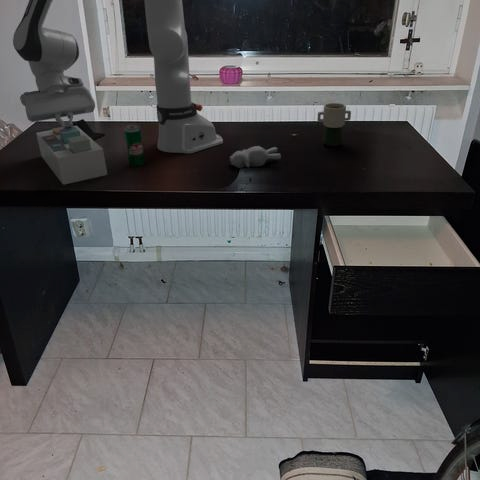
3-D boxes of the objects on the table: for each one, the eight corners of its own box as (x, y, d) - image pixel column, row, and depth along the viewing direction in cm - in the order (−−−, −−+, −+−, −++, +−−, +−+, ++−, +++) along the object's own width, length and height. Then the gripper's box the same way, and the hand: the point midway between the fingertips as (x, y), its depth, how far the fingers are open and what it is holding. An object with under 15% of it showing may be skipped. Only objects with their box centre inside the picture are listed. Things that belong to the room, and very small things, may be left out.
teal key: (77, 140, 155) (75, 126, 152) (82, 145, 151) (79, 130, 149) (61, 144, 152) (58, 129, 150) (65, 148, 149) (62, 133, 146)
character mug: (345, 140, 168) (348, 102, 162) (351, 147, 162) (354, 107, 156) (314, 141, 168) (315, 103, 161) (318, 149, 162) (320, 109, 155)
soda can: (131, 168, 151) (126, 130, 145) (126, 163, 155) (121, 125, 149) (147, 165, 153) (142, 127, 147) (142, 160, 157) (137, 123, 151)
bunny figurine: (228, 148, 153) (275, 139, 153) (230, 163, 156) (277, 155, 156) (231, 159, 145) (281, 150, 145) (233, 175, 147) (283, 166, 148)
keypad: (81, 148, 168) (76, 124, 164) (107, 174, 147) (102, 147, 143) (41, 156, 162) (35, 131, 158) (63, 184, 141) (57, 156, 137)
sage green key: (87, 149, 147) (84, 135, 145) (92, 154, 143) (89, 139, 141) (70, 153, 145) (67, 138, 143) (74, 158, 141) (71, 142, 139)
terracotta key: (70, 139, 163) (68, 125, 161) (74, 143, 159) (72, 129, 157) (55, 142, 161) (52, 128, 159) (59, 146, 157) (56, 132, 155)
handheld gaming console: (90, 140, 170) (72, 116, 169) (77, 152, 173) (59, 128, 172) (107, 135, 180) (90, 112, 179) (95, 146, 184) (78, 123, 182)
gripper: (17, 87, 144) (32, 128, 142) (87, 78, 153) (101, 116, 151) (18, 99, 150) (32, 139, 147) (85, 90, 159) (99, 127, 156)
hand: (68, 127), depth 149 cm, fingers closed
